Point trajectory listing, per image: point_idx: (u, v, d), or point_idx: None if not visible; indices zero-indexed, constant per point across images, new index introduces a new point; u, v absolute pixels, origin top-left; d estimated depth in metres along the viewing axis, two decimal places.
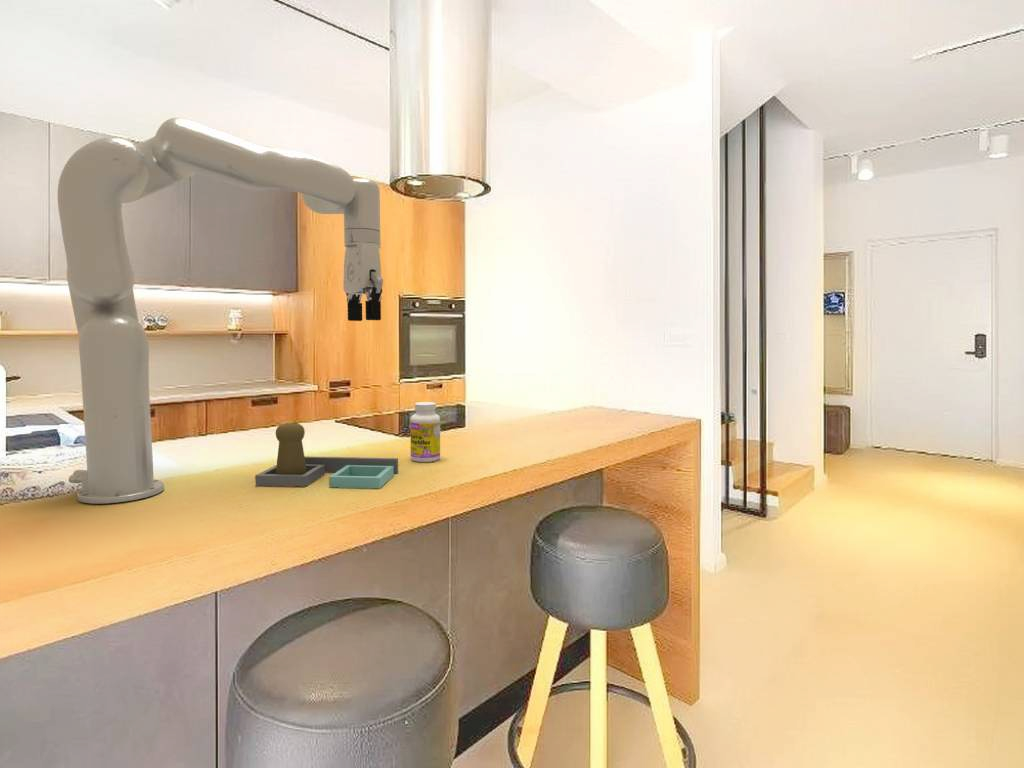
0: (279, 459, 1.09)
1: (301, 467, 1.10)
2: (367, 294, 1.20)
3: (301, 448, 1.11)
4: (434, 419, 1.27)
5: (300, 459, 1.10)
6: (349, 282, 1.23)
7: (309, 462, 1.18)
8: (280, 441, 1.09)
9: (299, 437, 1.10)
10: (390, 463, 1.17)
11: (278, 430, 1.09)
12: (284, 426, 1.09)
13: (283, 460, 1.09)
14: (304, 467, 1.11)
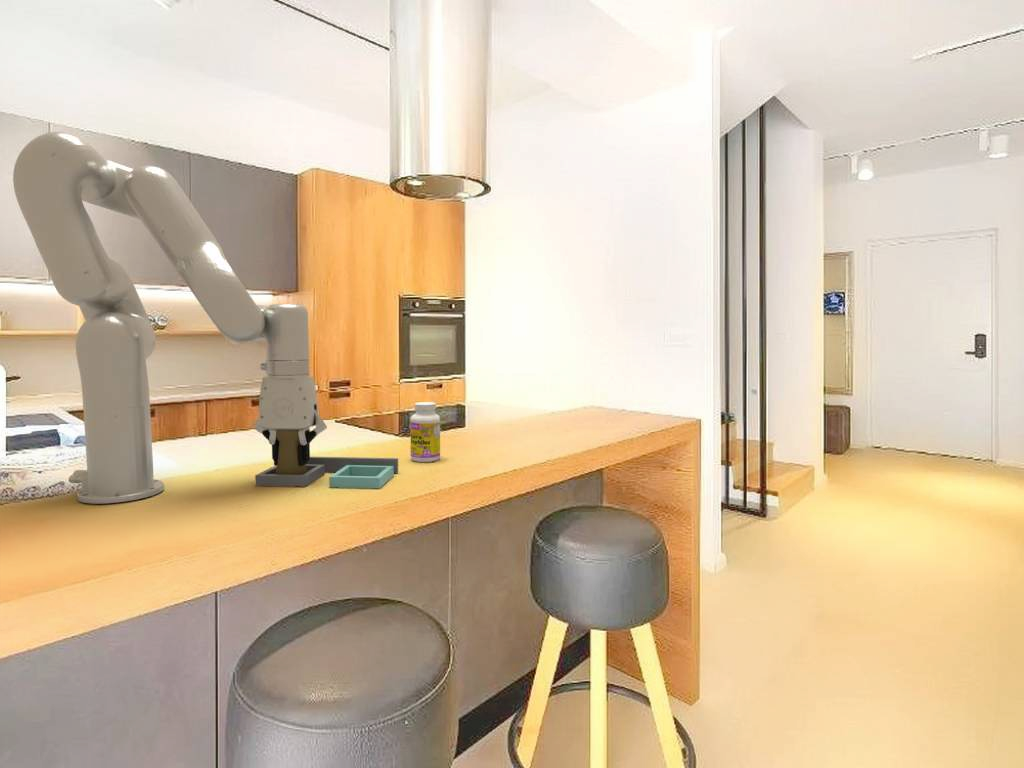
0: (279, 459, 1.09)
1: (301, 467, 1.10)
2: (303, 438, 1.09)
3: None
4: (434, 419, 1.27)
5: None
6: (280, 418, 1.08)
7: (309, 462, 1.18)
8: (280, 441, 1.09)
9: None
10: (390, 463, 1.17)
11: (278, 430, 1.09)
12: None
13: (283, 459, 1.09)
14: (304, 467, 1.11)
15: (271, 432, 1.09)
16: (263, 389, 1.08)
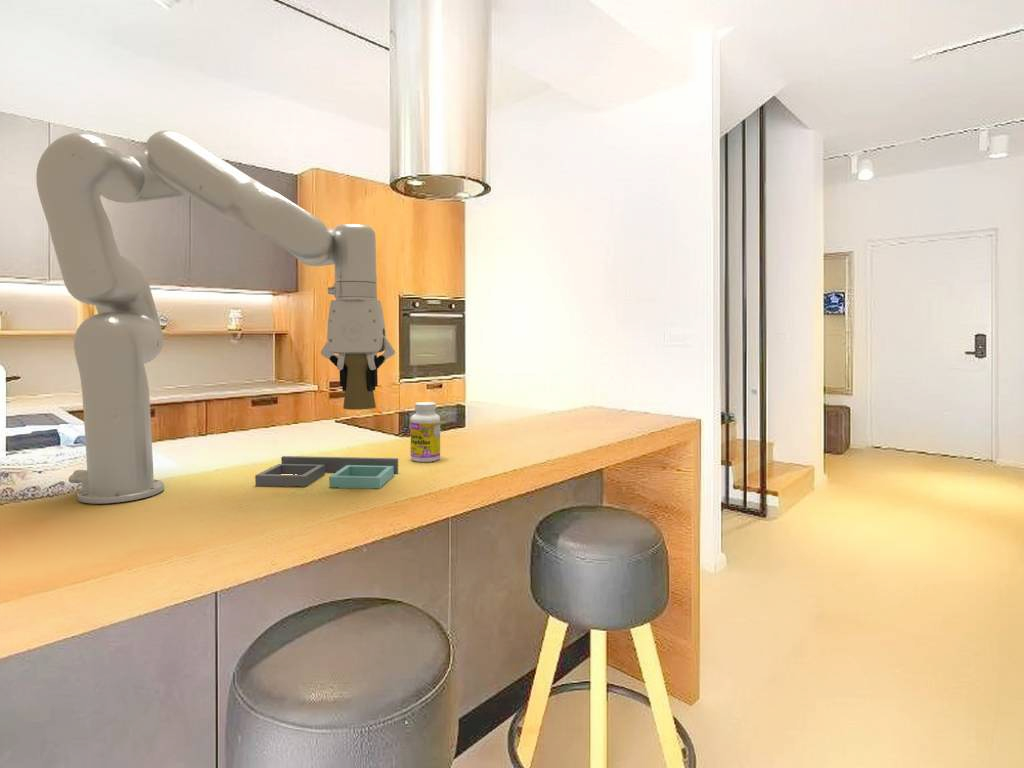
0: (348, 385, 1.07)
1: (370, 393, 1.08)
2: (372, 362, 1.07)
3: None
4: (434, 419, 1.27)
5: None
6: (349, 341, 1.06)
7: (309, 462, 1.18)
8: (349, 366, 1.07)
9: None
10: (390, 463, 1.17)
11: (347, 355, 1.07)
12: None
13: (353, 385, 1.07)
14: (372, 394, 1.09)
15: (339, 357, 1.07)
16: (332, 312, 1.06)
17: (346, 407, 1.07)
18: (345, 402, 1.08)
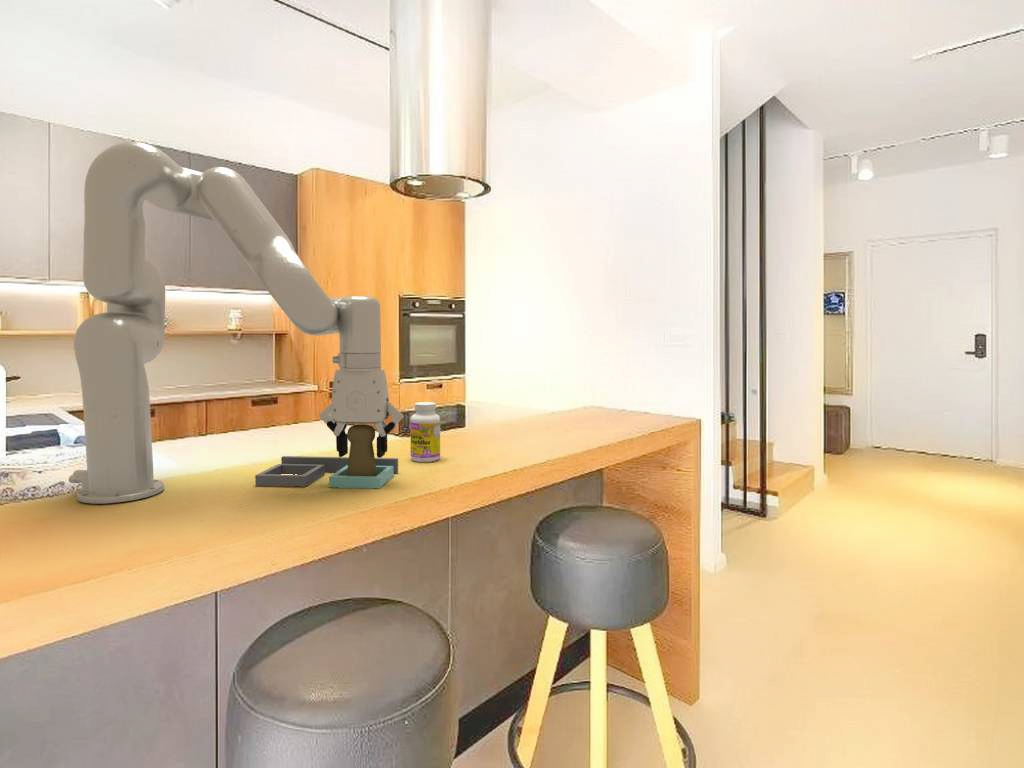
0: (351, 460, 1.08)
1: (372, 468, 1.09)
2: (381, 429, 1.08)
3: (372, 449, 1.10)
4: (434, 419, 1.27)
5: (371, 460, 1.09)
6: (353, 411, 1.07)
7: (309, 462, 1.18)
8: (352, 442, 1.08)
9: (371, 439, 1.09)
10: (390, 463, 1.17)
11: (350, 431, 1.08)
12: (356, 427, 1.08)
13: (355, 461, 1.08)
14: (375, 469, 1.10)
15: (338, 423, 1.09)
16: (336, 382, 1.07)
17: None
18: None
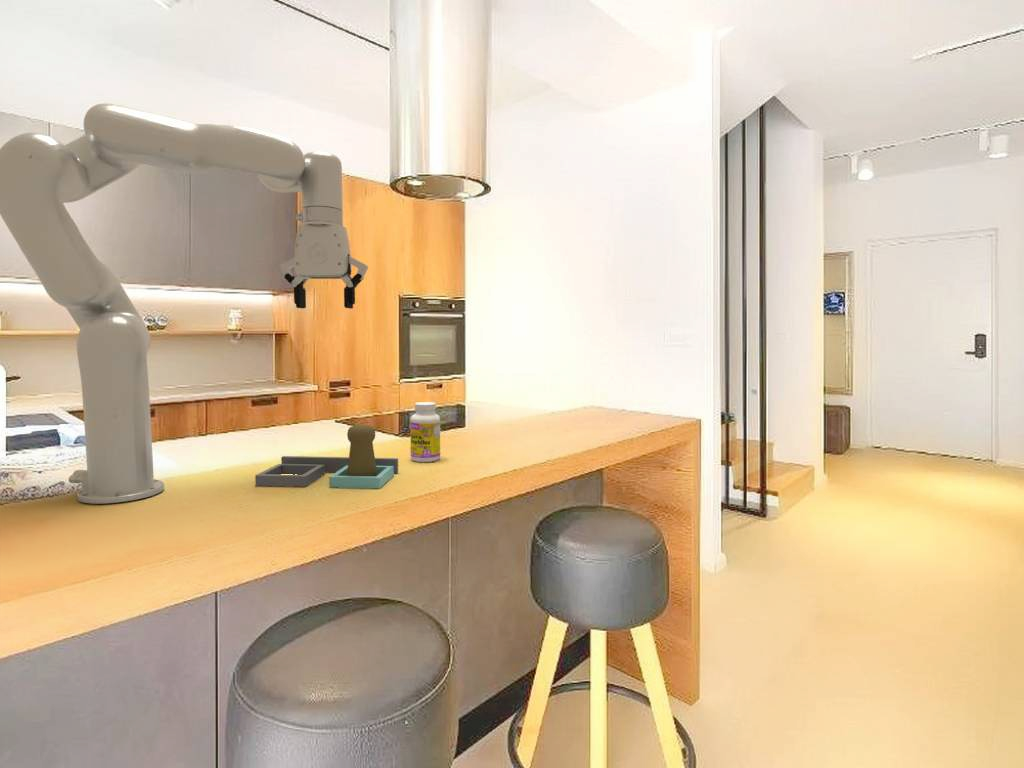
0: (351, 460, 1.08)
1: (372, 468, 1.09)
2: (347, 280, 1.12)
3: (372, 449, 1.10)
4: (434, 419, 1.27)
5: (371, 460, 1.09)
6: (315, 264, 1.11)
7: (309, 462, 1.18)
8: (352, 442, 1.08)
9: (371, 439, 1.09)
10: (390, 463, 1.17)
11: (350, 431, 1.08)
12: (356, 427, 1.08)
13: (355, 461, 1.08)
14: (375, 469, 1.10)
15: (297, 276, 1.13)
16: (299, 236, 1.11)
17: None
18: None
